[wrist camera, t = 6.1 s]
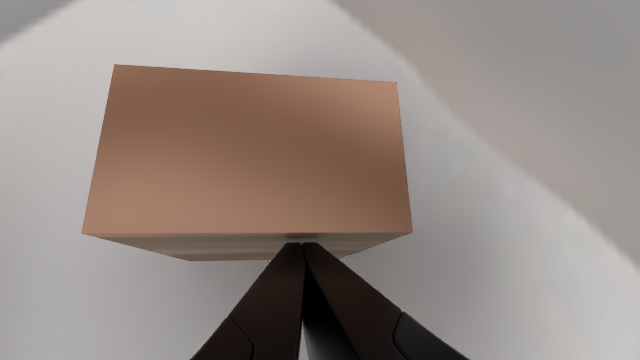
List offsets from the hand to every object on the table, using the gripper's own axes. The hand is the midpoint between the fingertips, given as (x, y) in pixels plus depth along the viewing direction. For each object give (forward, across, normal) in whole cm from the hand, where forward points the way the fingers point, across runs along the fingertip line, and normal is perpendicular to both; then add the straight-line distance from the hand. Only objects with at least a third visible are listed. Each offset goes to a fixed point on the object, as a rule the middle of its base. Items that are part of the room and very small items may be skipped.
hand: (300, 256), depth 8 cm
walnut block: (+7, -1, -4) cm, 8 cm away
